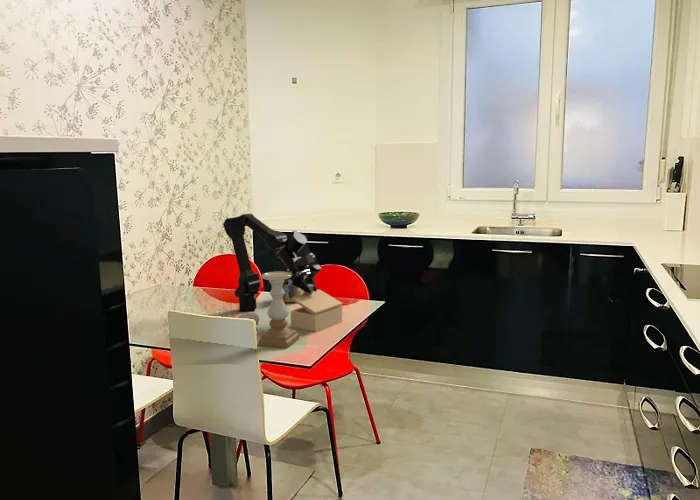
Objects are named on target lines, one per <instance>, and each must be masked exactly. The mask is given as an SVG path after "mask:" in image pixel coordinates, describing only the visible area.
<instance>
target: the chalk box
mask: <svg viewBox="0 0 700 500" xmlns="http://www.w3.org/2000/svg"><path fill="white" fill-rule="evenodd" d="M287 271H289V270H288V269H287V270H286V272H287ZM291 283H292V280H291V279H290V280H288V285H284V286H283V285H282V288H283V290H284V291H285V294H284V296H283V298H282V300H283V302H284V303H295V304H297V303H296V302H294V301H293V300H291V299H292V297H295V296H298V295H302V294H304V292H305V291H304V290H302V289H300V288H298V287H296V286H294V285H291Z"/></svg>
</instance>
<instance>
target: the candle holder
mask: <svg viewBox="0 0 700 500" xmlns="http://www.w3.org/2000/svg"><path fill="white" fill-rule="evenodd" d="M260 276H261V278H262V279H263V280H267V281H268V282H269V283H270V285H271V289H270V291H269V295H270V296H271V298H272V301H271V303H270V305H269V307H267V308H268V309H267V312H266V314H267V317H268V318H269V319H270V321H269V326H270V328H268V329H267V331H265V332H264V333H263V334H261V336H260V338H259V339H258V342H257V343H258V346H259V347H265V348H266V347H267V348H279V349H289V348H290V347H291V346H293V344H296V343H297V342H298V341H299V340H300V333H298V332H297V330H296V329H290V328H289V327H287V326H288V321H287V319H286V318H287V317H288V316H289V314H290V313H289V312H290V311H289V308H288V307H287V305H286V304H285V302H283V300H282V298H283V296H284V294H285V291H284V290H283V288H282V285H283V283H284V281H285V279H288V278H290V277H291V276H292V274H291V273H289V272H287V271H282V270H281V271H268V272H265V273H262V274H261V275H260Z"/></svg>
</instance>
